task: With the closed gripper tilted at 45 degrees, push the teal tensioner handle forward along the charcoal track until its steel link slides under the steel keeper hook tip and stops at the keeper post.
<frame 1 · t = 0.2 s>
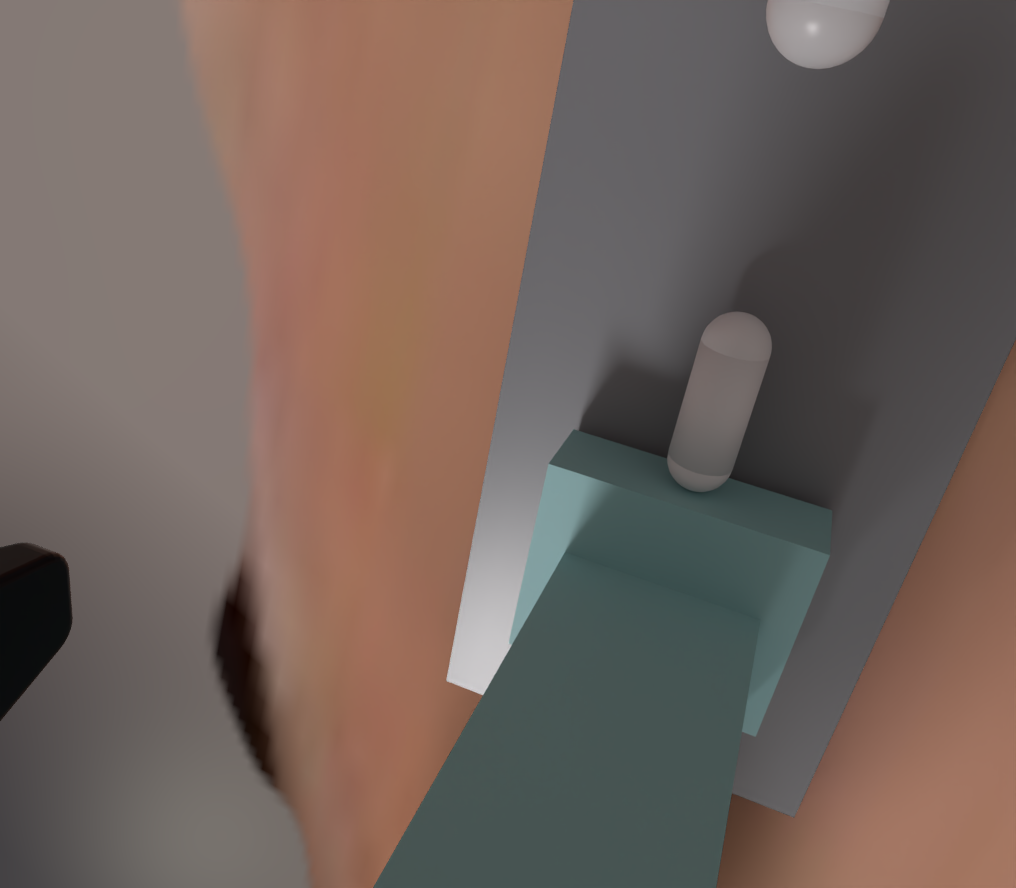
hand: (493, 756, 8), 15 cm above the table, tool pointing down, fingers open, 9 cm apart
tensioner: (616, 701, 15), point 9 cm above the table, slide at 0.0 cm
track: (739, 343, 21), on the table
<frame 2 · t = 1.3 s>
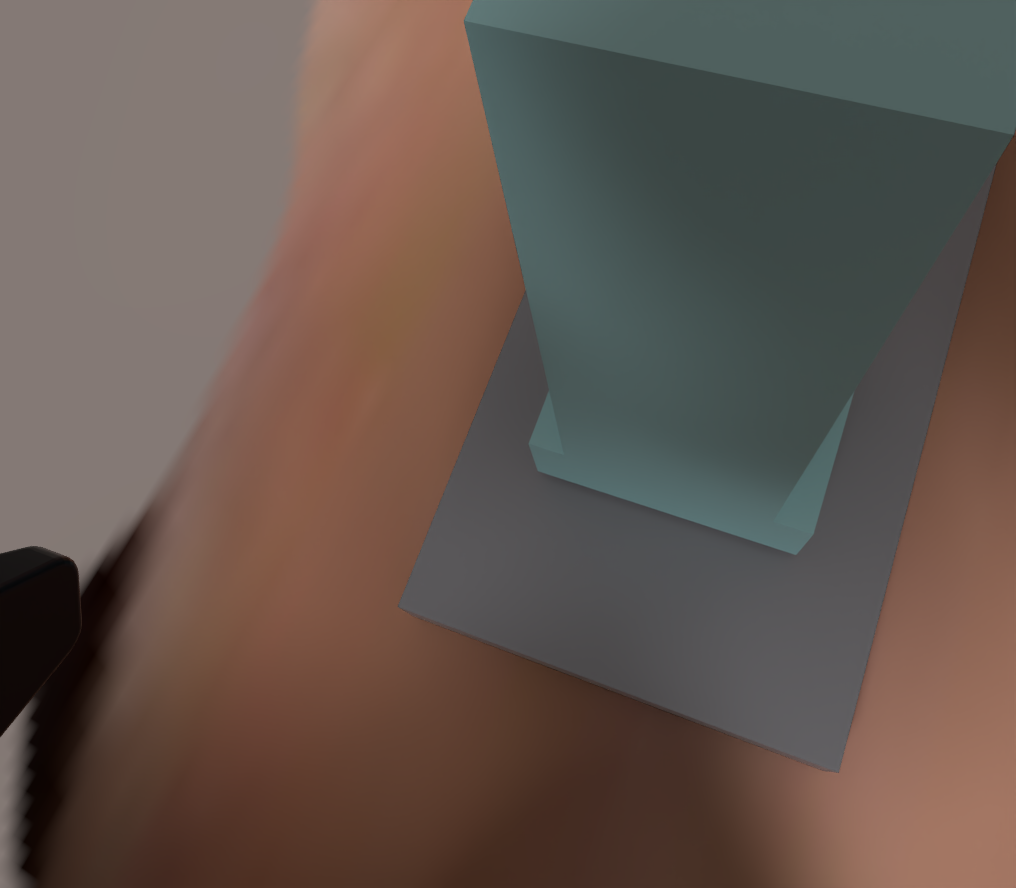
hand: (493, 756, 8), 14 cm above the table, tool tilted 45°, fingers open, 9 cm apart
tensioner: (749, 188, 15), point 9 cm above the table, slide at 0.0 cm
track: (747, 267, 24), on the table
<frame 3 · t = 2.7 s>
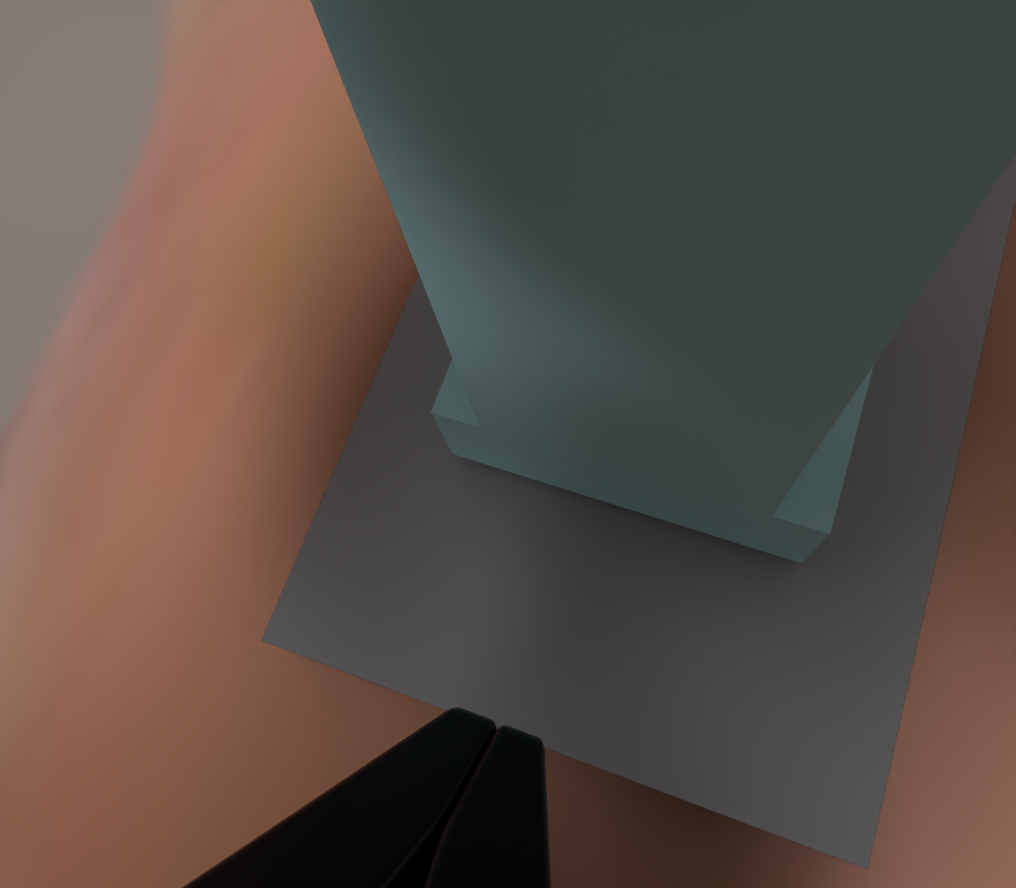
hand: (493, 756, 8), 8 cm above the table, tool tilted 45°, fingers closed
track: (728, 196, 19), on the table
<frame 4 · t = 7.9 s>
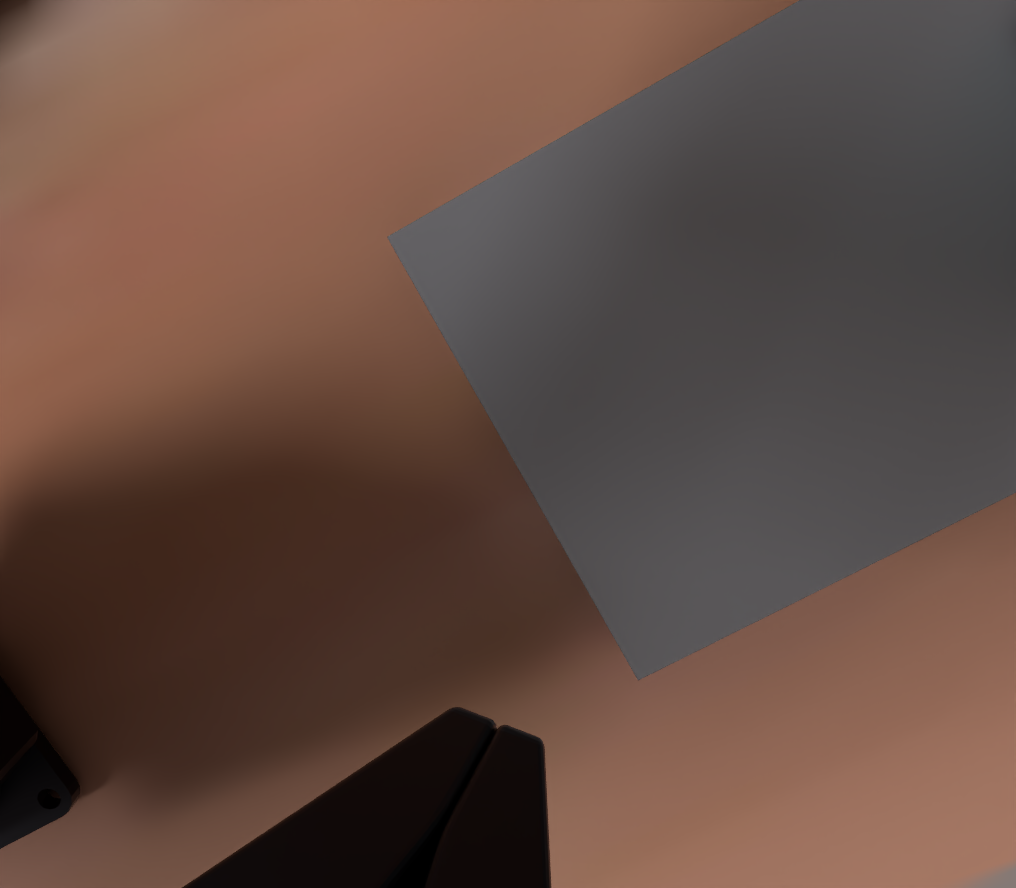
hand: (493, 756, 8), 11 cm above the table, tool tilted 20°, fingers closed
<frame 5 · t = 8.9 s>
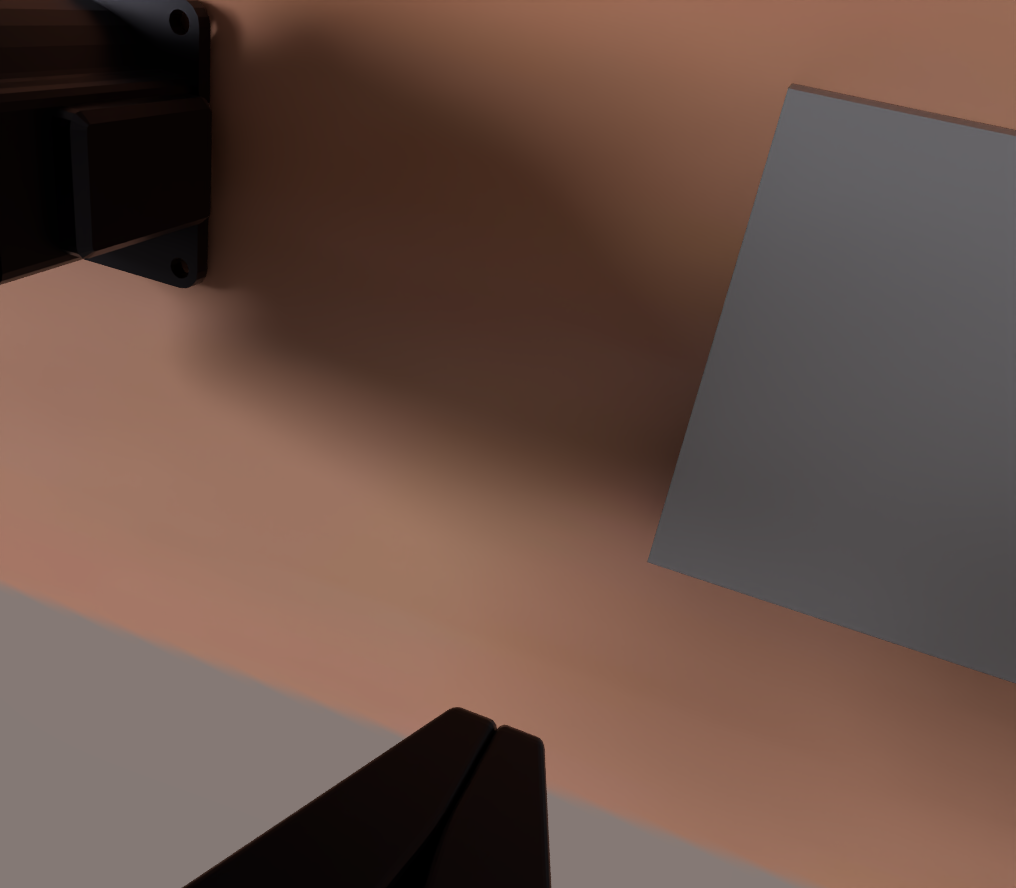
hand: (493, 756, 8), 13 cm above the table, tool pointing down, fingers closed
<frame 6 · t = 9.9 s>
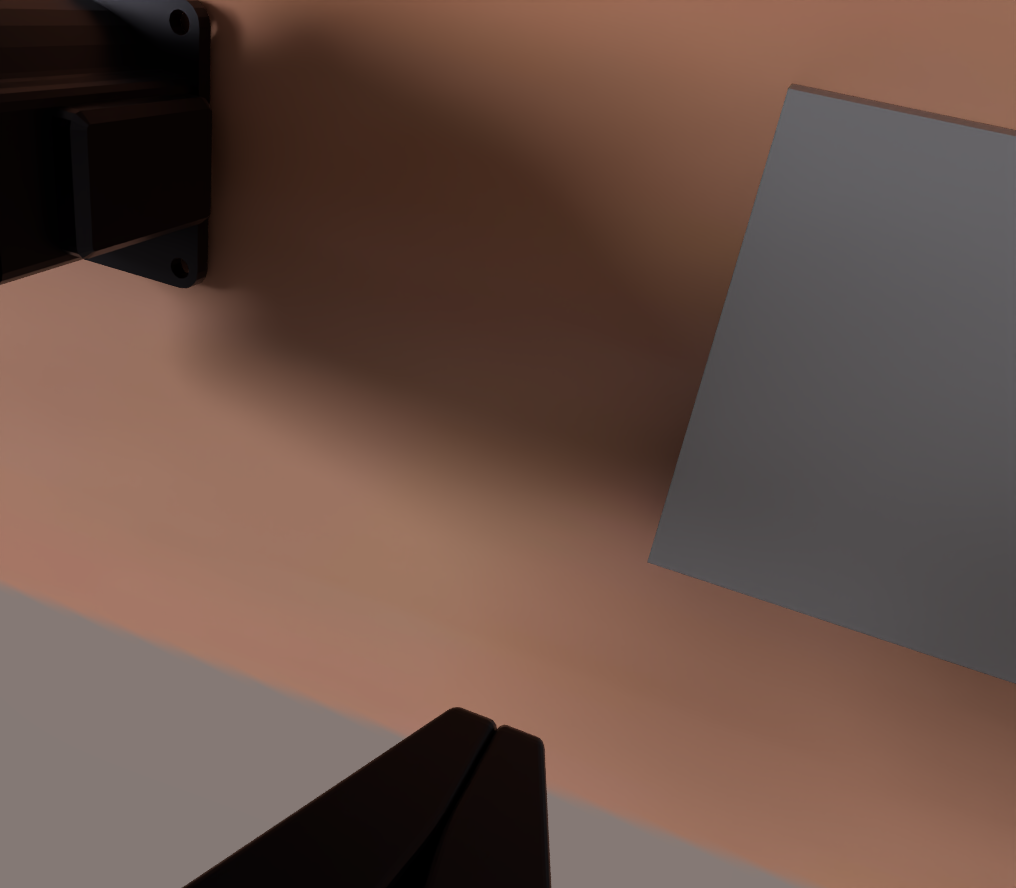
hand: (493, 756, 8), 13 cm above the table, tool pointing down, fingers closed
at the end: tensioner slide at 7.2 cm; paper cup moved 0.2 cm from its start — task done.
